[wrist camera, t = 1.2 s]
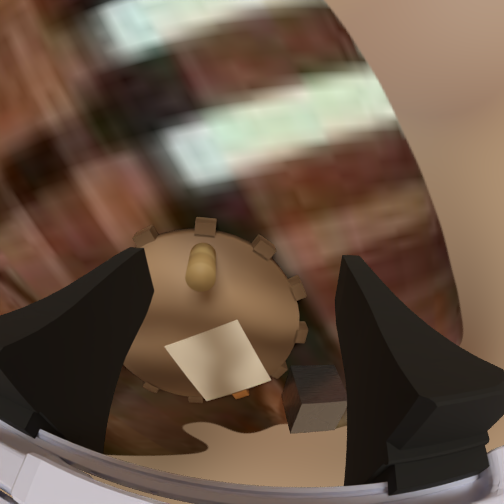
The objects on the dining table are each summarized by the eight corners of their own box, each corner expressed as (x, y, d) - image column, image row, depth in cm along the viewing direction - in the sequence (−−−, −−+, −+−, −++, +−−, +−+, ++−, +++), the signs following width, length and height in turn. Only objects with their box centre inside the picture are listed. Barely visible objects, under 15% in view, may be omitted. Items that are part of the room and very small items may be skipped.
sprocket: (283, 396, 29) (291, 431, 25) (109, 383, 27) (98, 418, 23) (326, 230, 23) (350, 254, 19) (89, 208, 20) (61, 229, 16)
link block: (321, 394, 31) (334, 429, 26) (281, 396, 30) (290, 433, 25) (333, 364, 29) (349, 400, 24) (290, 365, 28) (301, 404, 24)
